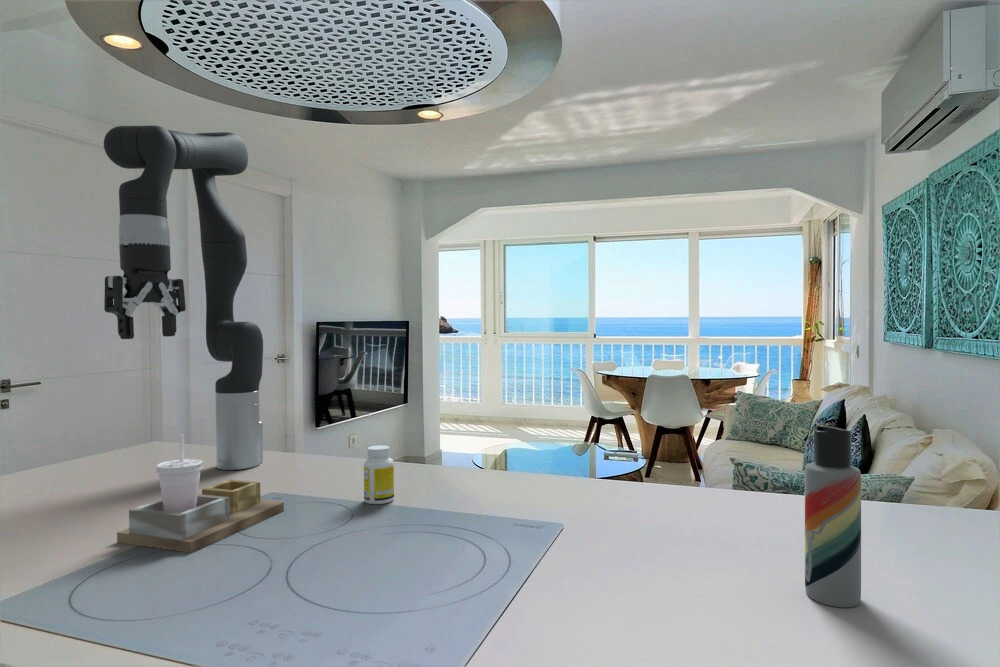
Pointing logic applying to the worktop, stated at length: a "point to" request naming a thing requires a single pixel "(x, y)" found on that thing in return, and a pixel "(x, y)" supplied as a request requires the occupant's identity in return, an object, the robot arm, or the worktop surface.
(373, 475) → the supplement bottle
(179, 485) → the smoothie
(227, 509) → the fitting board
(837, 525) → the lotion bottle
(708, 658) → the worktop surface
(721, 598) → the worktop surface
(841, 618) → the worktop surface
